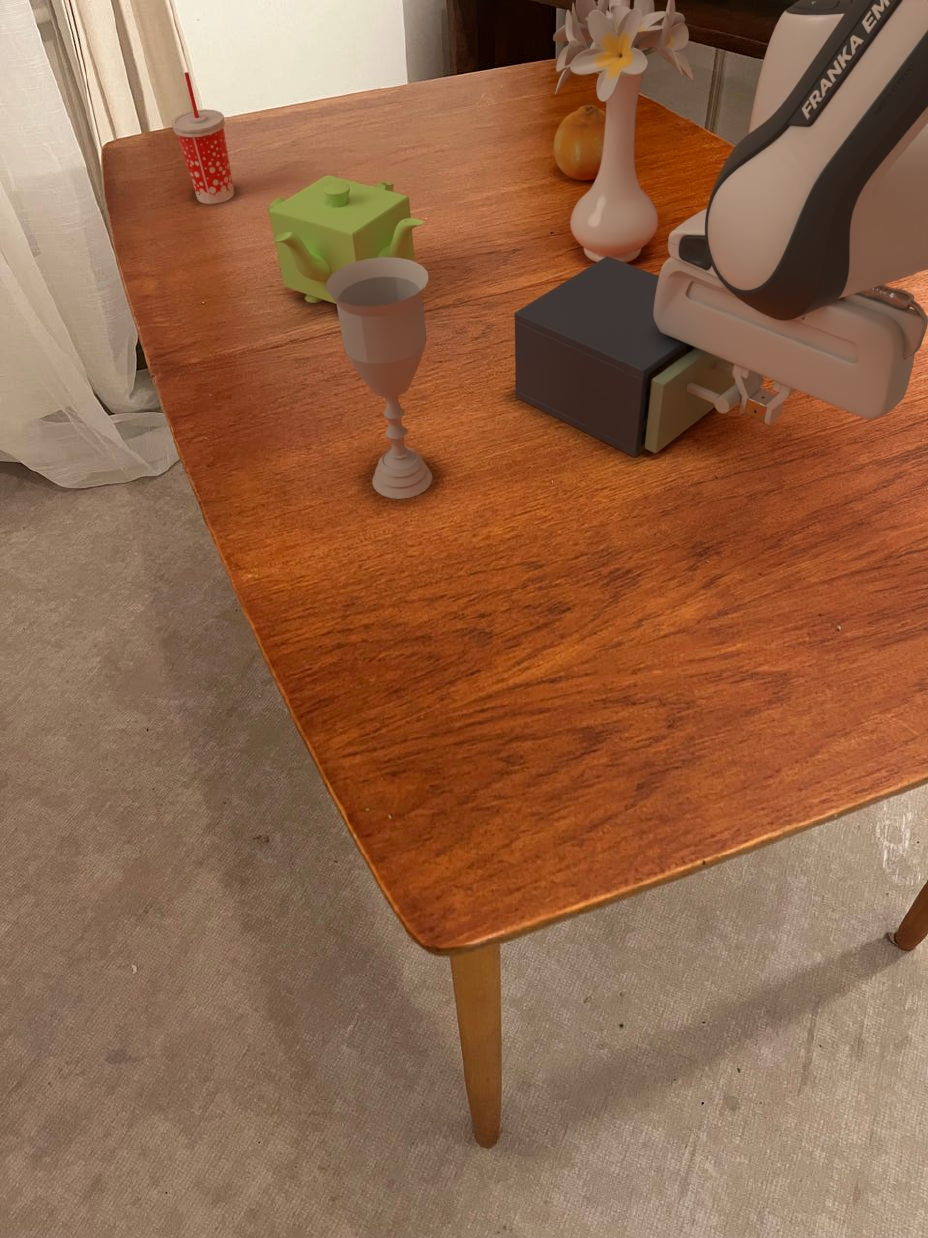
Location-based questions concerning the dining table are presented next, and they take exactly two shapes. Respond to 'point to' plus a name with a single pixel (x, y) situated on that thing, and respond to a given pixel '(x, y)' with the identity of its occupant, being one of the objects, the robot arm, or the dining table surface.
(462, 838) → the dining table surface
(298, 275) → the kettle
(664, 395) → the drawer
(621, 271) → the cabinet
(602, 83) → the flower vase
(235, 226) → the dining table surface
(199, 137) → the beverage cup
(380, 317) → the chalice
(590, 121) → the fruit
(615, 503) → the dining table surface
